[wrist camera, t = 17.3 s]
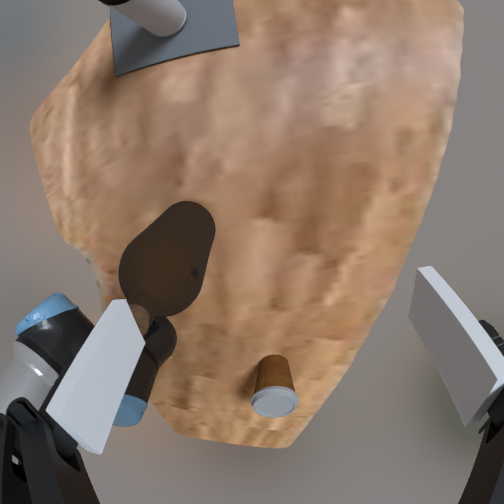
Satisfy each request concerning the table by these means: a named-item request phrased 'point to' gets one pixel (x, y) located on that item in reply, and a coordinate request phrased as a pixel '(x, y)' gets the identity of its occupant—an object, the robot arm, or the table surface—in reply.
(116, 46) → the rubber mat
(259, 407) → the disposable coffee cup
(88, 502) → the robot arm
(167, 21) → the travel mug
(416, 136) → the table surface
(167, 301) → the olive oil
